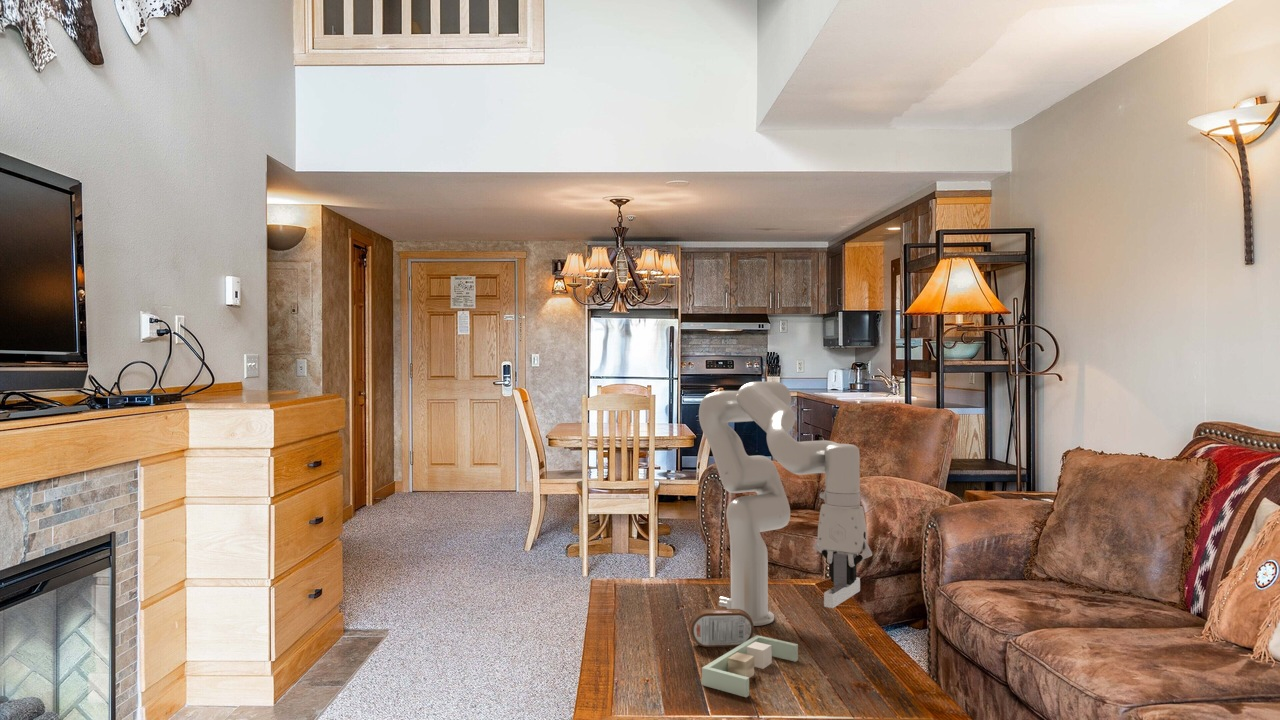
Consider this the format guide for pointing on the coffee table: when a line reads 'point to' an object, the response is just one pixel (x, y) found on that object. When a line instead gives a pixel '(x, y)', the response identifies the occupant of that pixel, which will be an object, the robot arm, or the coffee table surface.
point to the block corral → (737, 684)
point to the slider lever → (840, 583)
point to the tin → (721, 627)
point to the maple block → (741, 664)
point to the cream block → (760, 654)
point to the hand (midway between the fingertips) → (842, 581)
